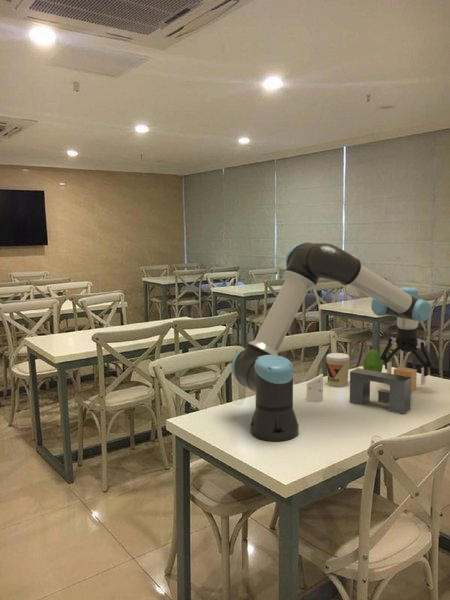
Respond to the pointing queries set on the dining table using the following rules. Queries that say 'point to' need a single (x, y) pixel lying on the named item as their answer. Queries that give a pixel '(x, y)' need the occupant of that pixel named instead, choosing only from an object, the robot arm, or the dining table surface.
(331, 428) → the dining table surface
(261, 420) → the robot arm
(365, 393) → the housing
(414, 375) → the plug
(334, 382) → the coffee cup
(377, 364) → the avocado
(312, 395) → the white angled block
